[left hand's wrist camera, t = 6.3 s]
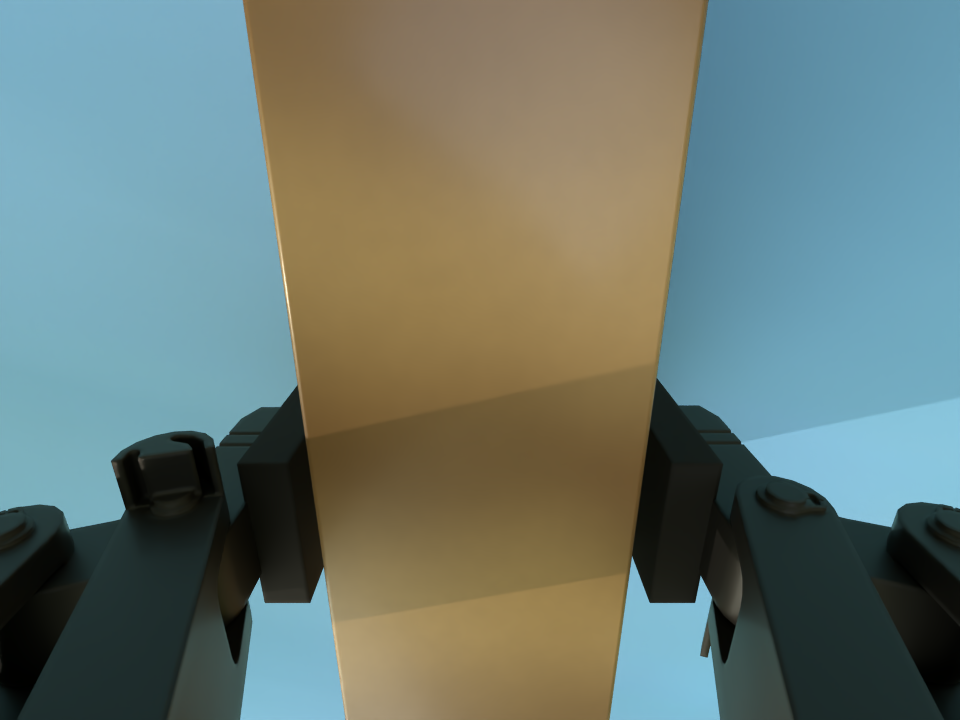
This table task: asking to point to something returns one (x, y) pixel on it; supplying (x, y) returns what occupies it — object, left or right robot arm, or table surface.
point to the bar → (476, 326)
